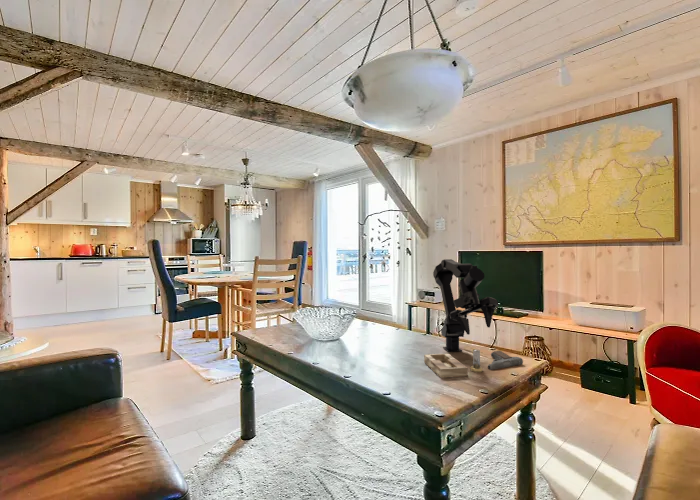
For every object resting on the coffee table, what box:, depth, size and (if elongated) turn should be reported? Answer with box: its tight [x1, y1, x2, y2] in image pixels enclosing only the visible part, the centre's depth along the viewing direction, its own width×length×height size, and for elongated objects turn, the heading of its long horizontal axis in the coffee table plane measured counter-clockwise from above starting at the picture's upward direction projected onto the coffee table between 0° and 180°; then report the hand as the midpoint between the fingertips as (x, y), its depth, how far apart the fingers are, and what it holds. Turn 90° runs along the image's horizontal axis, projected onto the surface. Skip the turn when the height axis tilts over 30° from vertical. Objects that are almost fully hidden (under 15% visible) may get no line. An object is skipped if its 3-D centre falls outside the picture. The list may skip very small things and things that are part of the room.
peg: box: [469, 349, 484, 374], centre depth 134 cm, size 4×4×8 cm
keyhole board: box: [423, 352, 469, 379], centre depth 136 cm, size 17×10×3 cm, turn 8°
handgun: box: [487, 350, 524, 370], centre depth 142 cm, size 3×16×12 cm
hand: (478, 331), depth 134 cm, fingers open, 9 cm apart
